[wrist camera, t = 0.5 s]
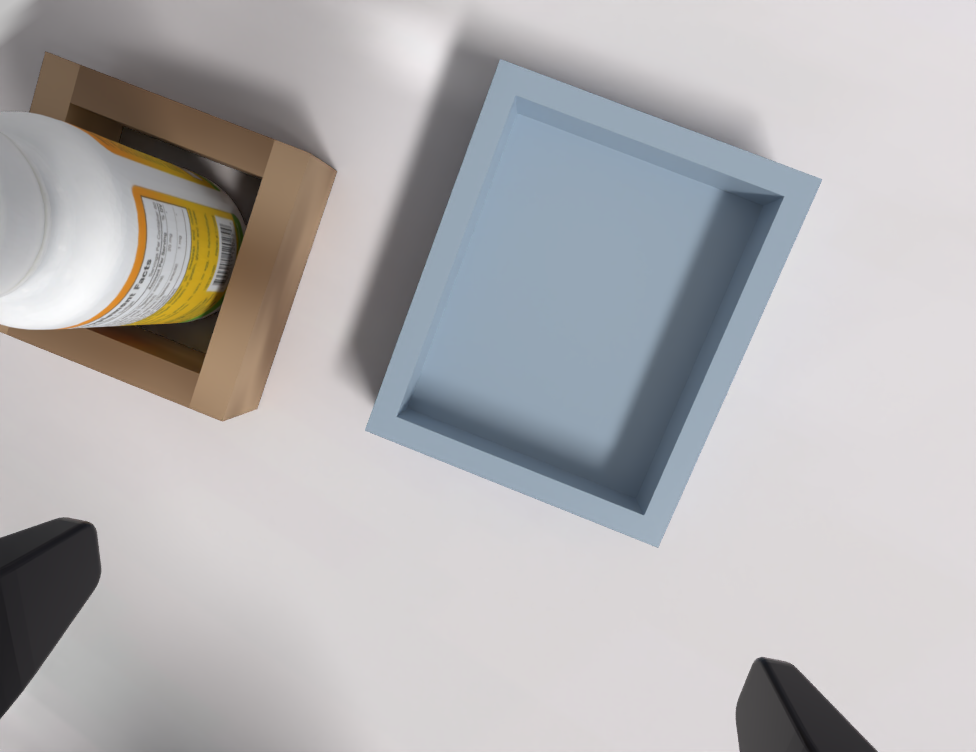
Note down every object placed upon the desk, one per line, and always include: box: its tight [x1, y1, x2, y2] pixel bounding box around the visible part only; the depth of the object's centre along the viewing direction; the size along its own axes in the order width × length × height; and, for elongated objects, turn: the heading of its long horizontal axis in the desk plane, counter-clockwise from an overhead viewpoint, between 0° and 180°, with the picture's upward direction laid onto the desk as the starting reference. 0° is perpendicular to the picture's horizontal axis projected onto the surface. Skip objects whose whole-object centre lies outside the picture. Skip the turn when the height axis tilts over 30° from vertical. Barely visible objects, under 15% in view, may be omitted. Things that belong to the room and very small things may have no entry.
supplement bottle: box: [0, 111, 246, 330], centre depth 17 cm, size 5×5×10 cm
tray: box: [365, 59, 822, 548], centre depth 20 cm, size 12×10×2 cm
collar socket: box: [0, 51, 337, 421], centre depth 21 cm, size 9×9×2 cm
